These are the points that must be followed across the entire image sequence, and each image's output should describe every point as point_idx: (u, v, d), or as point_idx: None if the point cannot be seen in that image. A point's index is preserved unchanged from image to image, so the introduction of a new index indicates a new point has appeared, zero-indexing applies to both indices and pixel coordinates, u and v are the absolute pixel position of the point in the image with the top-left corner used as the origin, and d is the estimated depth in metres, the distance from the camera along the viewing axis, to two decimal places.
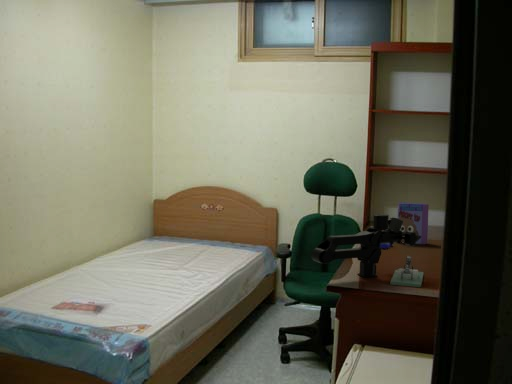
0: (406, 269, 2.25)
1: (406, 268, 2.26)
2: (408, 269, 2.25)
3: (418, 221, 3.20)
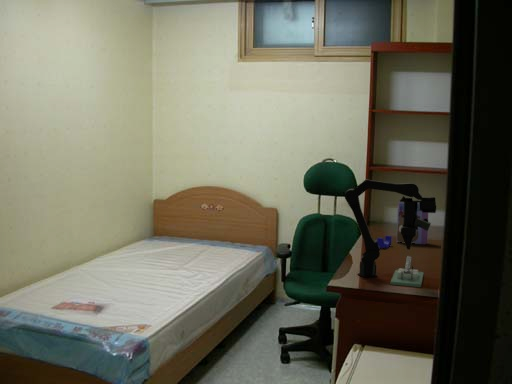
0: (406, 269, 2.25)
1: (406, 268, 2.26)
2: (408, 269, 2.25)
3: None
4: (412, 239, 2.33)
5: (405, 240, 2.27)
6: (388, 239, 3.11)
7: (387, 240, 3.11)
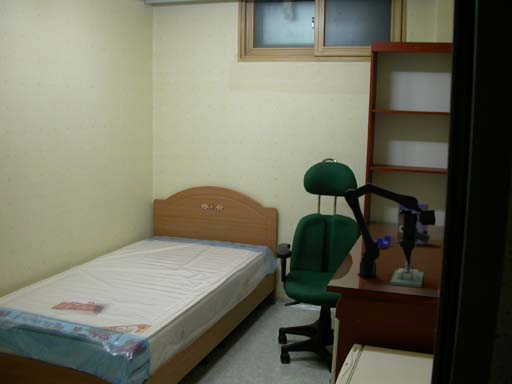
0: (406, 269, 2.25)
1: (406, 268, 2.26)
2: (408, 269, 2.25)
3: None
4: (411, 252, 2.31)
5: (405, 252, 2.30)
6: (387, 239, 3.11)
7: (386, 240, 3.12)
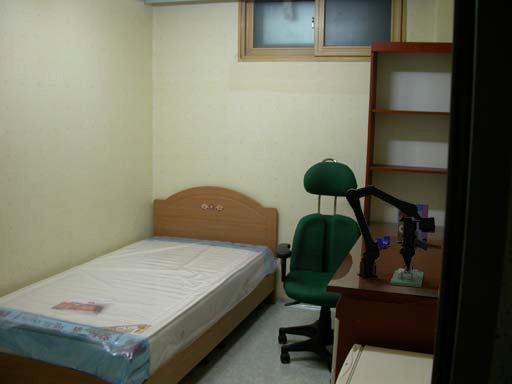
0: (406, 270, 2.25)
1: (406, 270, 2.26)
2: (408, 270, 2.25)
3: None
4: (411, 259, 2.31)
5: (405, 259, 2.30)
6: (387, 239, 3.12)
7: (386, 240, 3.12)
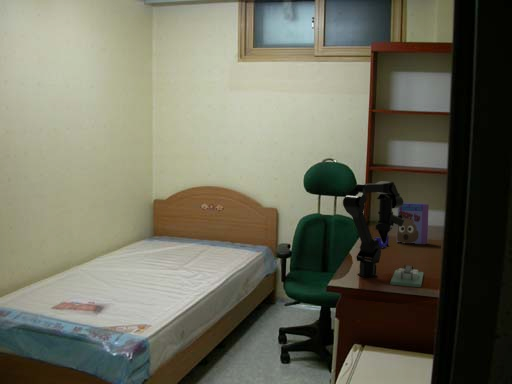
0: (406, 270, 2.25)
1: (406, 270, 2.26)
2: (408, 270, 2.25)
3: (418, 221, 3.20)
4: (387, 235, 2.42)
5: (381, 235, 2.41)
6: None
7: None
